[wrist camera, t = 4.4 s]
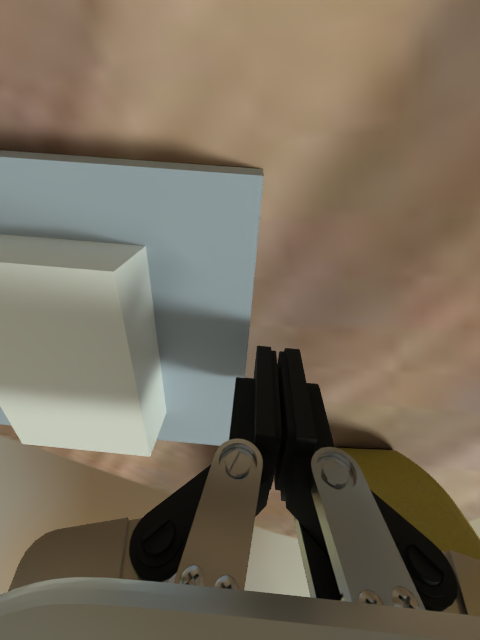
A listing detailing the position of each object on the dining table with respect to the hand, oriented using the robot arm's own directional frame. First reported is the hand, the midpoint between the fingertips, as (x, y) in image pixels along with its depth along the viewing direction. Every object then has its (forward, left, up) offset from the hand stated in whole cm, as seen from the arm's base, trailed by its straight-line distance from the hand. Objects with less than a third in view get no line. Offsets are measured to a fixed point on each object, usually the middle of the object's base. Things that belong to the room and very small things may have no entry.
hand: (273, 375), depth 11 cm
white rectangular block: (0, -8, -1) cm, 8 cm away
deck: (0, -9, -5) cm, 10 cm away
